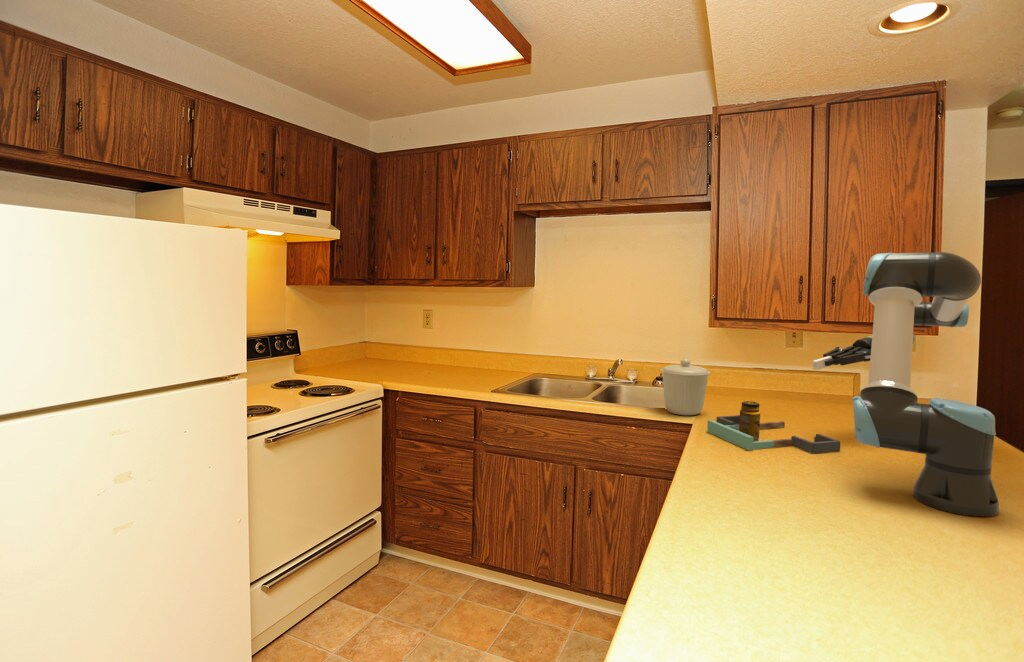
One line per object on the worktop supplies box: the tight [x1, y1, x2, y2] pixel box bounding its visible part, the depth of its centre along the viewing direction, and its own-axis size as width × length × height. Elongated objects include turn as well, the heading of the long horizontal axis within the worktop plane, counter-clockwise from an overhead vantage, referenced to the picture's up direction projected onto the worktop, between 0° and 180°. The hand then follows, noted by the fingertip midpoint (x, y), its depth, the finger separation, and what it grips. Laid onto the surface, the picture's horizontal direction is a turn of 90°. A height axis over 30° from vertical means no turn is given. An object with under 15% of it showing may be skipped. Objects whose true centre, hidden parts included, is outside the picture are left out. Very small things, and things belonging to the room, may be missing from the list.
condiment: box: [738, 400, 765, 442], centre depth 172 cm, size 7×8×12 cm
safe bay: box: [706, 419, 774, 451], centre depth 171 cm, size 10×20×4 cm, turn 15°
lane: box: [759, 420, 817, 448], centre depth 175 cm, size 20×19×2 cm
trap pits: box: [715, 414, 841, 454], centre depth 175 cm, size 18×34×3 cm, turn 15°
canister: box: [660, 358, 711, 416], centre depth 206 cm, size 18×18×21 cm
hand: (814, 365), depth 169 cm, fingers closed
